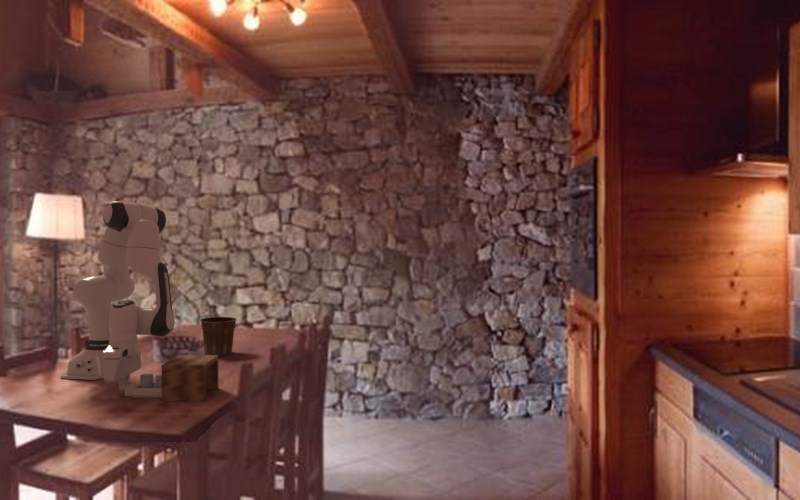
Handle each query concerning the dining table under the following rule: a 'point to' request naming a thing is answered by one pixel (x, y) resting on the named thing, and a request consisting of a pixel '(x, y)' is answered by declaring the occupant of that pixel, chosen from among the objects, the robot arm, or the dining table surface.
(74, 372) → the robot arm
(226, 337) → the plant pot
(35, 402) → the dining table surface
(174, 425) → the dining table surface
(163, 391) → the wooden crate box
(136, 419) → the dining table surface
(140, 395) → the tray
